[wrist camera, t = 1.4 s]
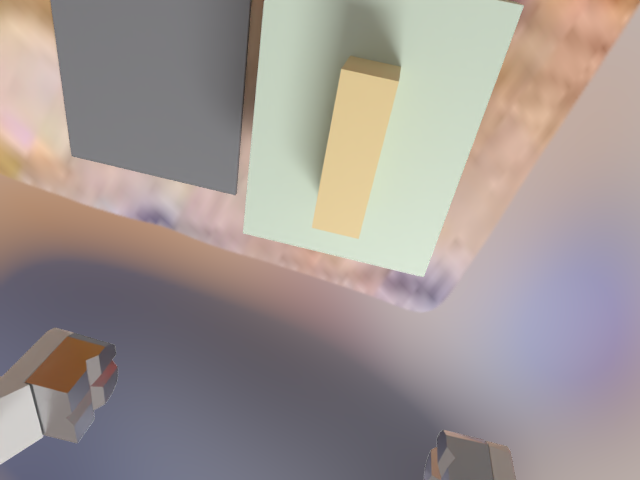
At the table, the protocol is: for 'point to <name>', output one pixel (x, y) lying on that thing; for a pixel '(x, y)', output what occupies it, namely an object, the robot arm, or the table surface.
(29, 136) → the table surface
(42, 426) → the robot arm
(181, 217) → the table surface
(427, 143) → the lid
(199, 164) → the mat
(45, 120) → the table surface
